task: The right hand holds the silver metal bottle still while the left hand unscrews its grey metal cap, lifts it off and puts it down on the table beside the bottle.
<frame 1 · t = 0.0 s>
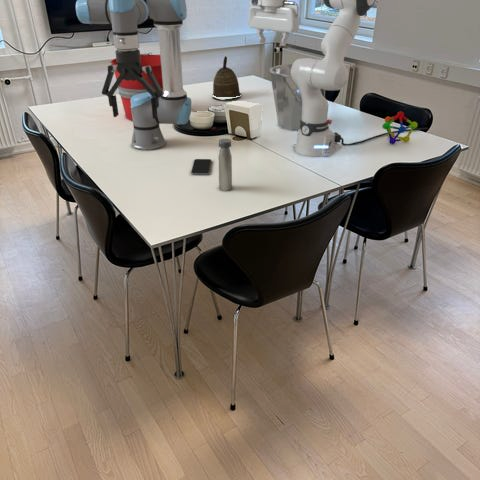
left hand: (135, 116, 150), 28 cm above the table, tool pointing down, fingers open, 13 cm apart
right hand: (272, 44, 157), 48 cm above the table, tool pointing down, fingers open, 8 cm apart
smartphone: (201, 167, 184), on the table
bucket 2: (148, 115, 247), on the table
bottle: (225, 188, 167), on the table
bell: (226, 97, 281), on the table
educational toy: (395, 143, 211), on the table
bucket: (295, 125, 233), on the table
cap: (224, 141, 158), point 18 cm above the table, screwed on, not yet turned
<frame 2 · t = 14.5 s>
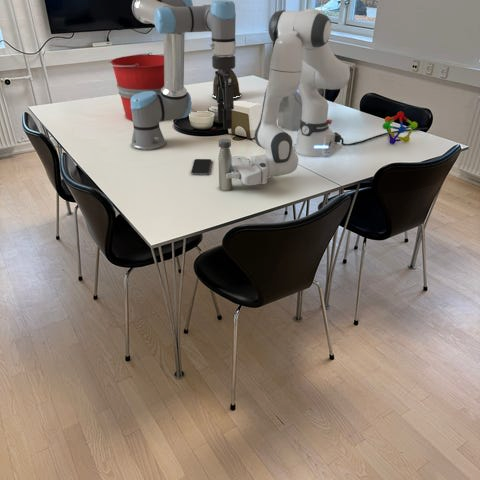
left hand: (224, 125, 155), 24 cm above the table, tool pointing down, fingers open, 7 cm apart
right hand: (223, 172, 164), 7 cm above the table, tool horizontal, fingers closed on bottle, 5 cm apart
bottle: (225, 188, 167), on the table, touching right hand
everything else where it was.
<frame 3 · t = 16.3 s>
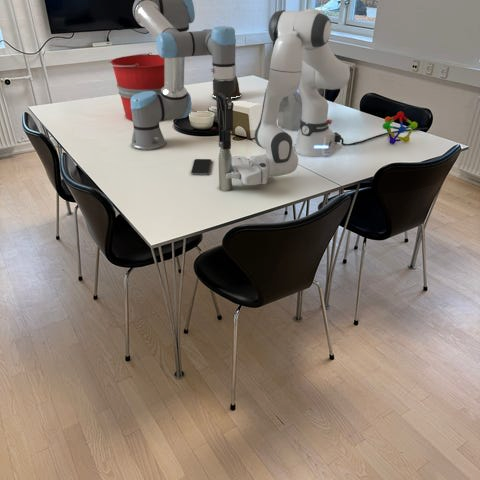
left hand: (224, 146, 159), 17 cm above the table, tool pointing down, fingers closed on cap, 4 cm apart
right hand: (223, 172, 164), 7 cm above the table, tool horizontal, fingers closed on bottle, 5 cm apart
bottle: (225, 188, 167), on the table, touching right hand
cap: (224, 141, 158), point 18 cm above the table, screwed on, not yet turned, touching left hand
everything else where it was.
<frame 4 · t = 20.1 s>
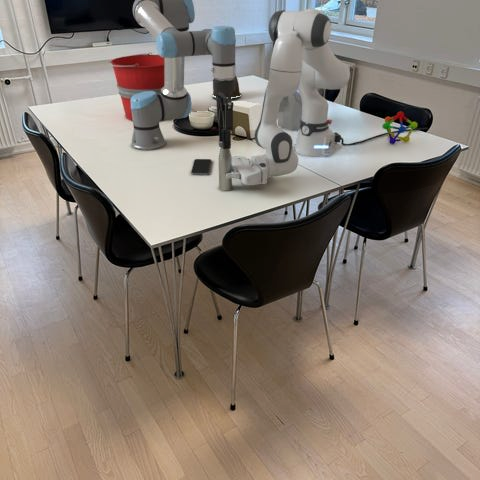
left hand: (224, 146, 159), 17 cm above the table, tool pointing down, fingers closed on cap, 4 cm apart
right hand: (223, 172, 164), 7 cm above the table, tool horizontal, fingers closed on bottle, 5 cm apart
bottle: (225, 188, 167), on the table, touching right hand
cap: (224, 140, 157), point 19 cm above the table, turned 124° so far, risen 0.1 cm, still on its thread, touching left hand
everything else where it was.
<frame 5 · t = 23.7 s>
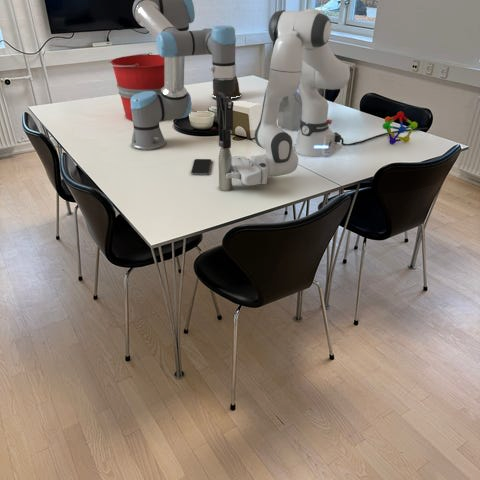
left hand: (224, 145, 158), 17 cm above the table, tool pointing down, fingers closed on cap, 4 cm apart
right hand: (223, 172, 164), 7 cm above the table, tool horizontal, fingers closed on bottle, 5 cm apart
bottle: (225, 188, 167), on the table, touching right hand
cap: (224, 140, 157), point 19 cm above the table, turned 248° so far, risen 0.2 cm, still on its thread, touching left hand
everything else where it was.
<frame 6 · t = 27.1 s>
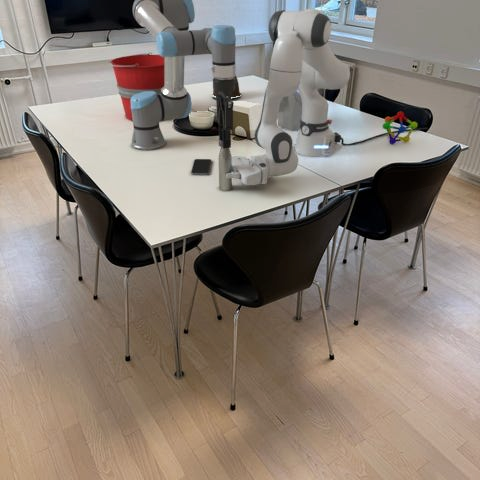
left hand: (224, 145, 158), 17 cm above the table, tool pointing down, fingers closed on cap, 4 cm apart
right hand: (223, 172, 164), 7 cm above the table, tool horizontal, fingers closed on bottle, 5 cm apart
bottle: (225, 188, 167), on the table, touching right hand
cap: (224, 140, 157), point 19 cm above the table, turned 372° so far, risen 0.4 cm, still on its thread, touching left hand
everything else where it was.
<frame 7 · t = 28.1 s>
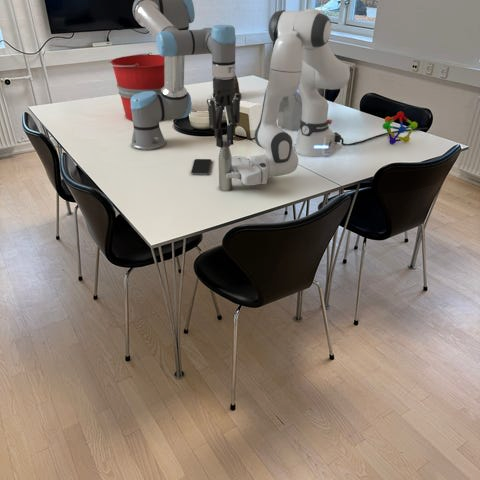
left hand: (224, 145, 158), 17 cm above the table, tool pointing down, fingers closed on cap, 4 cm apart
right hand: (223, 172, 164), 7 cm above the table, tool horizontal, fingers closed on bottle, 5 cm apart
bottle: (225, 188, 167), on the table, touching right hand
cap: (224, 139, 157), point 19 cm above the table, off its thread, touching left hand
everything else where it was.
when the left hand's fingers open (2 cm above the table, at t = 34.5 s): cap drops 2 cm, point 2 cm above the table.
when the right hand's fingers open (7 cm above the table, at t = 35.8 s): bottle stays where it is, on the table.
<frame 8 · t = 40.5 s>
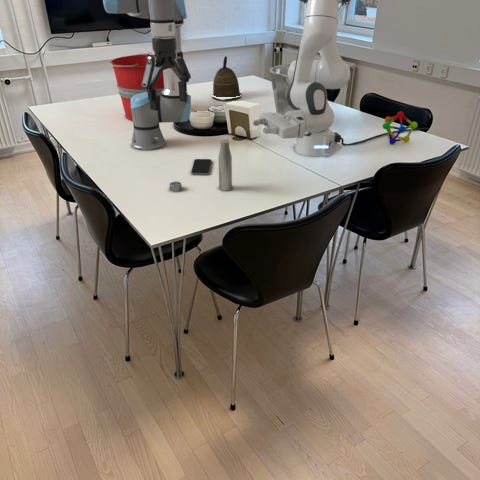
left hand: (169, 105, 150), 31 cm above the table, tool pointing down, fingers open, 13 cm apart
right hand: (258, 126, 160), 22 cm above the table, tool horizontal, fingers open, 8 cm apart
bottle: (225, 188, 167), on the table
cap: (175, 184, 165), point 2 cm above the table, off its thread
everything else where it was.
at the end: cap came off its thread; cap point 1.9 cm above the table; the left hand is holding nothing; the right hand is holding nothing; bottle tilted 0°; bottle moved 0.0 cm from its start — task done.
